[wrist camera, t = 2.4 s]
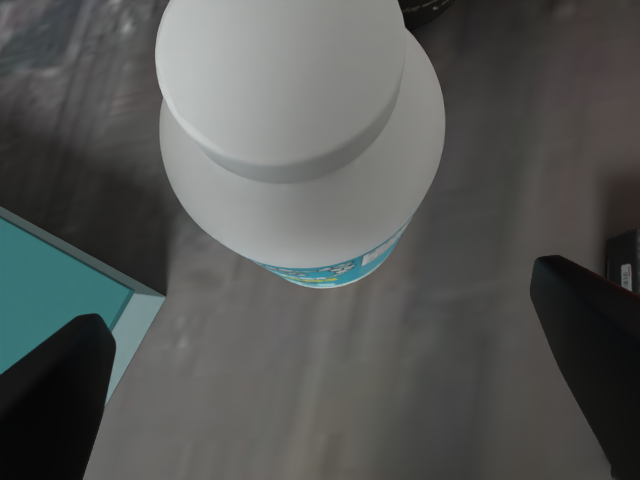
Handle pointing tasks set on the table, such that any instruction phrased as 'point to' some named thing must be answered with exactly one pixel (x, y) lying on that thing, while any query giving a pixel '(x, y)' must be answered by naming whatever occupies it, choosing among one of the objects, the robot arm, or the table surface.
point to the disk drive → (624, 267)
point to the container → (64, 294)
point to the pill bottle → (298, 129)
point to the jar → (421, 11)
